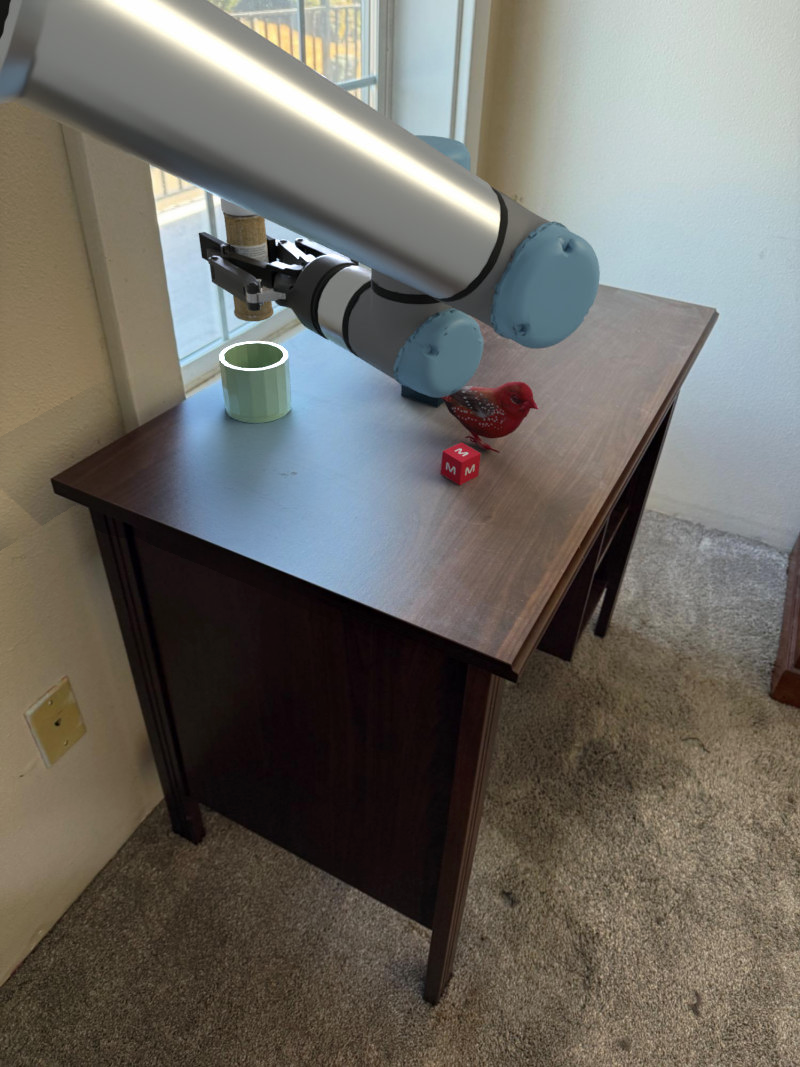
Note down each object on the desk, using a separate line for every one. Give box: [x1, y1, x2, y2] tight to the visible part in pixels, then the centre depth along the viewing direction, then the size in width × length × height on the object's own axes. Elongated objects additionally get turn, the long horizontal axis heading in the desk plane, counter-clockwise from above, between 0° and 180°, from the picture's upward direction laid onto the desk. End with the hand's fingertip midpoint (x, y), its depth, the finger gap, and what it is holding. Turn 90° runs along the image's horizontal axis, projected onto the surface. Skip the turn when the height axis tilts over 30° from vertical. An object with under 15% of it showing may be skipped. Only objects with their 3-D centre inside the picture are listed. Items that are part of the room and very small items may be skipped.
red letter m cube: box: [440, 442, 482, 486], centre depth 82 cm, size 3×3×3 cm
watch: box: [400, 384, 445, 408], centre depth 95 cm, size 6×8×11 cm
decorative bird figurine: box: [441, 381, 539, 454], centre depth 86 cm, size 3×18×10 cm, turn 47°
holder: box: [218, 340, 292, 424], centre depth 92 cm, size 8×8×7 cm
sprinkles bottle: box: [219, 197, 274, 322], centre depth 82 cm, size 5×5×14 cm
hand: (223, 241), depth 85 cm, fingers closed on sprinkles bottle, 4 cm apart
